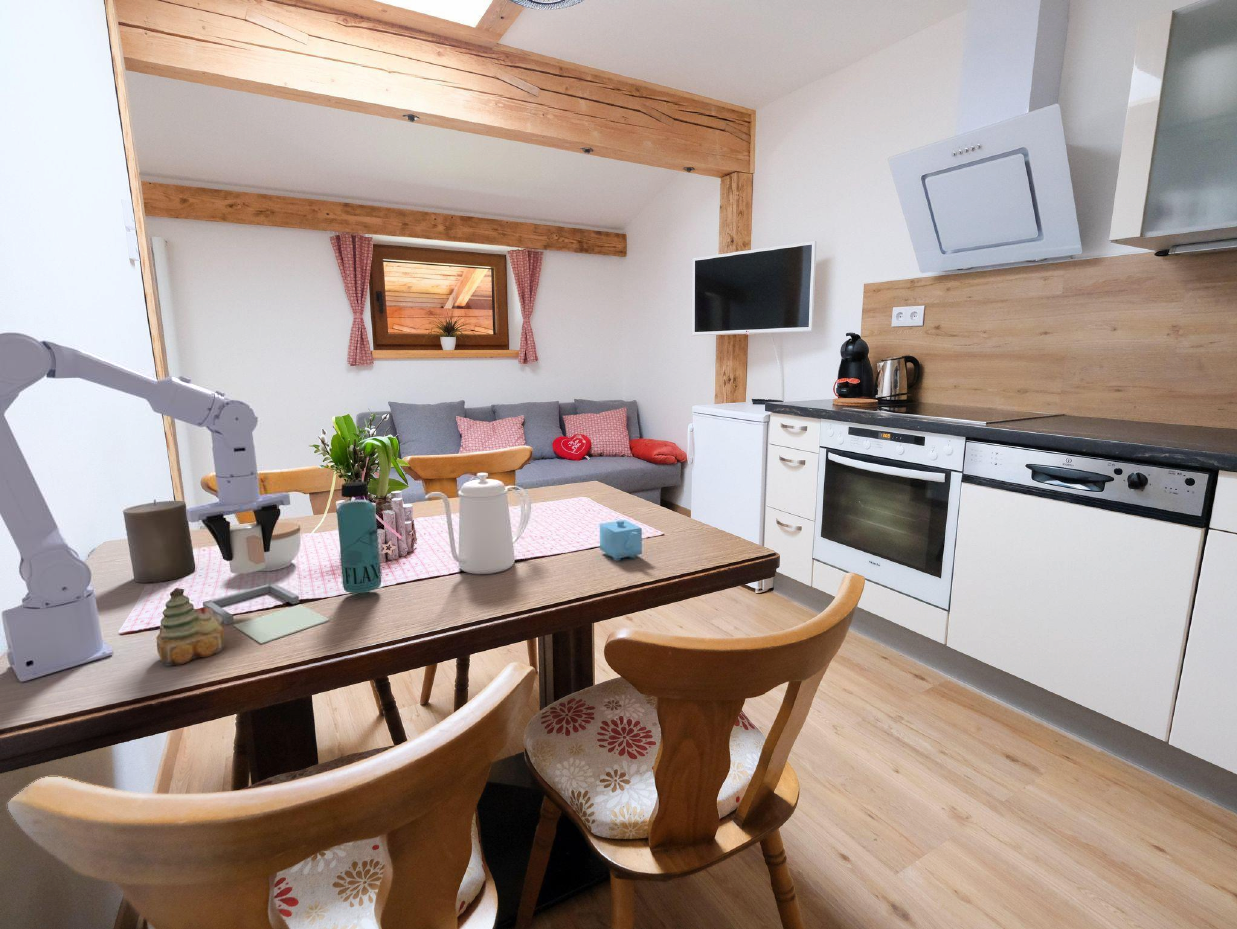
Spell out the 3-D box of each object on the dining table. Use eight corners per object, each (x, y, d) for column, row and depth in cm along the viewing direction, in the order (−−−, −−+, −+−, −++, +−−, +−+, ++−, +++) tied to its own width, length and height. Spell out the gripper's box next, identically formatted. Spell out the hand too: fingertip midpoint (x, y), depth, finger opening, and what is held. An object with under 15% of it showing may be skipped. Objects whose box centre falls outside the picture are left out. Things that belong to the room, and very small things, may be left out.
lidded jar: (249, 561, 124) (243, 517, 123) (306, 554, 128) (302, 511, 126) (237, 578, 114) (230, 530, 113) (300, 570, 118) (295, 524, 116)
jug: (225, 569, 99) (220, 528, 98) (258, 561, 103) (253, 521, 102) (245, 579, 95) (239, 536, 93) (278, 571, 98) (274, 529, 97)
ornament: (219, 638, 90) (211, 574, 88) (233, 650, 86) (224, 583, 84) (153, 658, 84) (143, 590, 82) (165, 672, 80) (154, 601, 78)
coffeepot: (413, 580, 112) (406, 481, 109) (513, 546, 132) (509, 461, 129) (450, 592, 106) (443, 488, 103) (549, 555, 125) (546, 466, 122)
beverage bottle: (340, 603, 102) (328, 487, 98) (346, 589, 108) (336, 480, 105) (381, 599, 103) (371, 485, 100) (385, 585, 110) (376, 477, 106)
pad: (261, 644, 87) (260, 642, 87) (234, 626, 93) (233, 624, 93) (329, 620, 95) (329, 619, 95) (300, 605, 101) (300, 604, 101)
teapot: (650, 563, 120) (650, 526, 119) (623, 568, 117) (622, 531, 116) (622, 547, 131) (621, 513, 129) (597, 551, 128) (596, 517, 127)
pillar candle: (206, 570, 119) (196, 495, 117) (152, 586, 111) (139, 506, 108) (177, 564, 123) (166, 492, 121) (122, 579, 115) (109, 502, 112)
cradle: (226, 624, 94) (225, 617, 94) (203, 609, 100) (202, 602, 100) (299, 602, 102) (298, 595, 102) (273, 589, 109) (273, 582, 108)
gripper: (193, 484, 89) (204, 572, 91) (294, 470, 100) (303, 548, 103) (177, 479, 93) (188, 563, 96) (276, 465, 105) (284, 541, 107)
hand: (246, 555), depth 99 cm, fingers closed on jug, 5 cm apart
